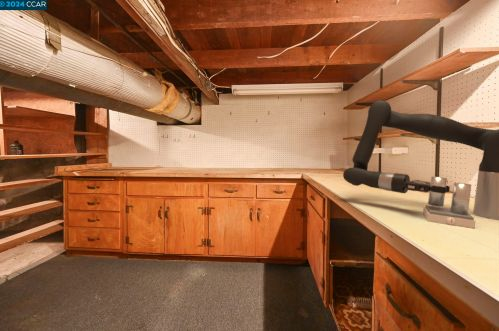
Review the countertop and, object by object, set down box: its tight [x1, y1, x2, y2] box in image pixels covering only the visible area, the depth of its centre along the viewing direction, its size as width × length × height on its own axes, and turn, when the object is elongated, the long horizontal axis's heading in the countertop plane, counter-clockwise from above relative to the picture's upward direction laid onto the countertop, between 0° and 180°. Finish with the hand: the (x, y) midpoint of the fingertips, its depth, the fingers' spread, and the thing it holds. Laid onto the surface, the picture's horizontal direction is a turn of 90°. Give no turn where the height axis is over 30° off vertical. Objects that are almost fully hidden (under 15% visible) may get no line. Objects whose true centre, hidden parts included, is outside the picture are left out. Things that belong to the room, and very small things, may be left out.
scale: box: [422, 204, 477, 229], centre depth 83 cm, size 12×12×3 cm
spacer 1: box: [427, 176, 448, 207], centre depth 85 cm, size 4×4×10 cm
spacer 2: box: [450, 182, 472, 215], centre depth 80 cm, size 4×4×10 cm
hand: (447, 189), depth 83 cm, fingers closed on spacer 1, 4 cm apart
